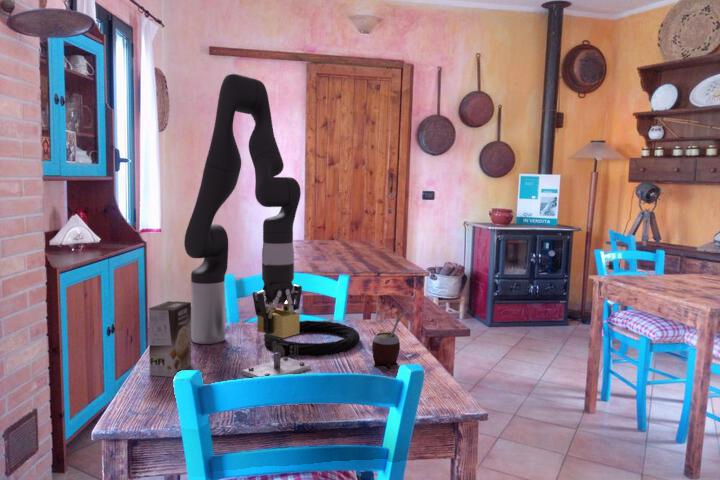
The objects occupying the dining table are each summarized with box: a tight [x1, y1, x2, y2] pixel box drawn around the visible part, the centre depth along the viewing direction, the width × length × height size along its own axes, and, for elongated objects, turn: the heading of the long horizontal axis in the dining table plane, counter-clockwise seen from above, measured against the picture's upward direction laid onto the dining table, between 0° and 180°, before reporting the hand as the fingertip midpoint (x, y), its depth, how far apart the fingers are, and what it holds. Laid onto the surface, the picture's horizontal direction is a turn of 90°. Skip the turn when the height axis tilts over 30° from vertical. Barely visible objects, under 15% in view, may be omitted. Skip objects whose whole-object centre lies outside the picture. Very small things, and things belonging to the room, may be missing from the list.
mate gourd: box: [371, 310, 410, 371], centre depth 140 cm, size 8×8×15 cm
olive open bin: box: [256, 307, 301, 339], centre depth 134 cm, size 9×5×5 cm, turn 50°
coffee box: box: [148, 300, 192, 378], centre depth 134 cm, size 9×6×16 cm
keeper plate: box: [241, 352, 311, 378], centre depth 135 cm, size 14×9×4 cm, turn 140°
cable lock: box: [263, 320, 361, 358], centre depth 159 cm, size 28×4×30 cm
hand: (278, 330), depth 134 cm, fingers closed on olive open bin, 5 cm apart
